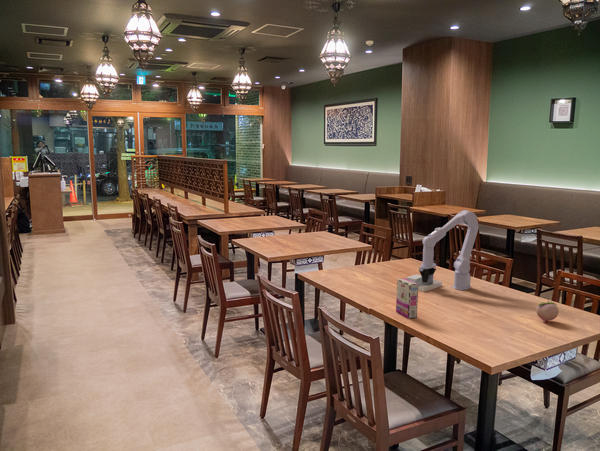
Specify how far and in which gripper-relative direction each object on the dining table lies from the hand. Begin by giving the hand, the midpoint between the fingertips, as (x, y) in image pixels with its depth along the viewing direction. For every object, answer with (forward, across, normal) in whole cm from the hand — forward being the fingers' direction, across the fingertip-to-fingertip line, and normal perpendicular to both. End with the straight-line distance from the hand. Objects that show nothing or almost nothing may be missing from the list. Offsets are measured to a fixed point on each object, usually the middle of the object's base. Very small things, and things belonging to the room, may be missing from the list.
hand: (427, 281), depth 271 cm
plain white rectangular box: (+3, 0, -8) cm, 8 cm away
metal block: (+2, 0, 0) cm, 2 cm away
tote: (+4, 0, -4) cm, 6 cm away
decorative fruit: (+4, +7, +67) cm, 67 cm away
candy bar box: (+4, +46, +18) cm, 50 cm away
